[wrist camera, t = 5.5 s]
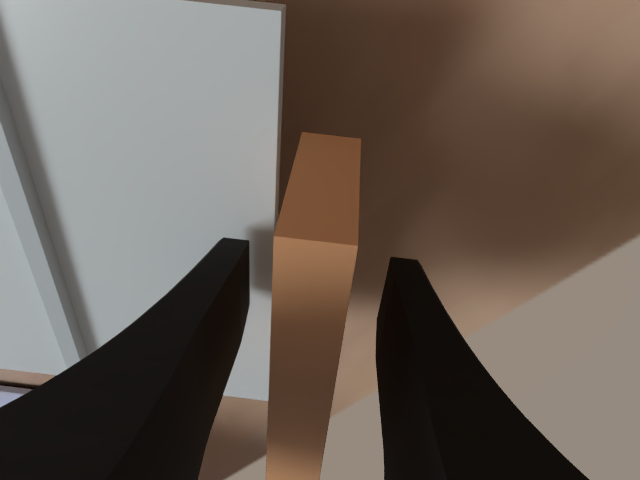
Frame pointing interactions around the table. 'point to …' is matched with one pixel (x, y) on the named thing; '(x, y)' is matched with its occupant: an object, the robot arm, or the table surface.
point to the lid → (170, 195)
